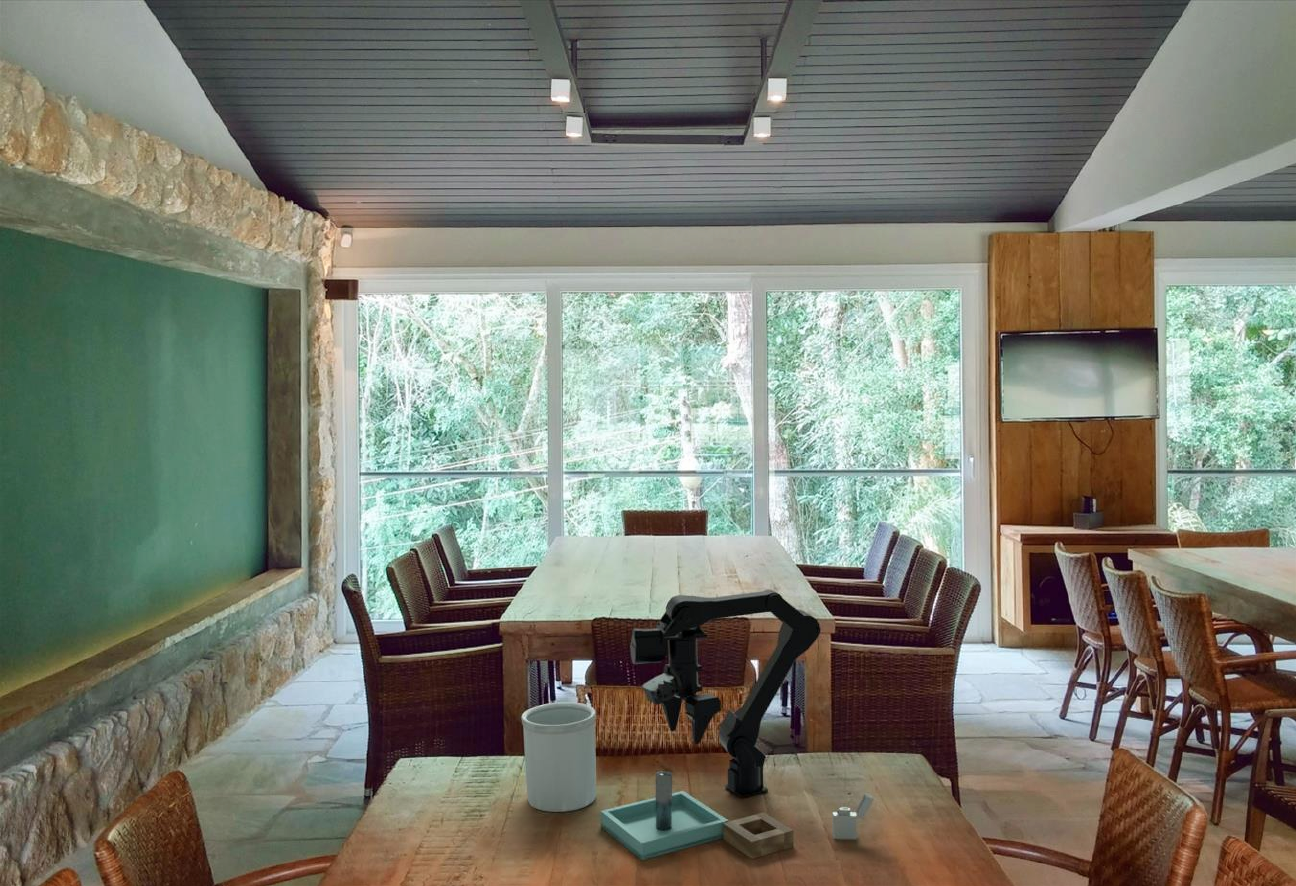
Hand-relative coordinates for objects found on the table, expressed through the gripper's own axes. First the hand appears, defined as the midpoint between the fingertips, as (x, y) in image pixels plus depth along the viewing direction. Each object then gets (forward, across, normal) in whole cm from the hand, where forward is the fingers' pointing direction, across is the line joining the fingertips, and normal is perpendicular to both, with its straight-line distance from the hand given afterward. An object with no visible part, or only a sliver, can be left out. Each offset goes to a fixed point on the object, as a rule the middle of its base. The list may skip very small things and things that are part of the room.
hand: (684, 737), depth 204 cm
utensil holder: (+12, -12, -22) cm, 28 cm away
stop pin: (+11, +12, -12) cm, 20 cm away
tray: (+12, +12, -12) cm, 21 cm away
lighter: (+12, +32, +16) cm, 38 cm away
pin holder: (+12, +25, 0) cm, 28 cm away
